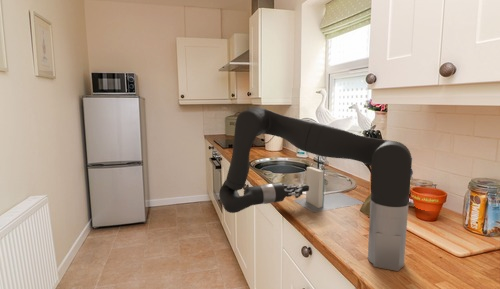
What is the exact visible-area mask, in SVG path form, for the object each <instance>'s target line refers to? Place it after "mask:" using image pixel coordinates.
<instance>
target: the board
mask: <svg viewBox="0 0 500 289" xmlns="http://www.w3.org/2000/svg"><path fill="white" fill-rule="evenodd" d="M292 201H293V202H294V203H297V204H299V206H302V207H303V208H305V209H307V210H308V211H310V212H312V213H320V212H324V211H331V210H334V209H335V210H336V209H341V208H346V207H351V206H352V207H353V206H358V205H362V204H363V203H364V202H365V201H364V202H363V201H361V200H360V199H356V198H355V197H351V196H350V195H346V194H344V193H343V192H335V193H329V194H324V207H320V208H318V207H316V206H314V205H312V204H310V203H309V202H307V201H306V197H303V198H296V199H293V200H292Z"/></svg>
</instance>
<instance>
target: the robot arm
mask: <svg viewBox="0 0 500 289" xmlns="http://www.w3.org/2000/svg"><path fill="white" fill-rule="evenodd" d="M233 135H234V136H233V137H234V138H233V144H232V145H233V147H232V153H231V160H230V165H229V167H228V170H227V175H226V178H225V180H224V181H223V184H222V185H221V187H220V188H219V192H218V194H219V200H220V202H221V204H222V206H223V209H224V211H225V212H228V213H231V214H236V213H239V212H241V211H243V210H245V209H247V208H249V207H252V206H257V205H265V204H266V205H267V204H273V203H281V202H284V200H285V198H286V197H287V198H291V197H292V196H294V197H295V198H296V199H299V198H300V197H301V196H303V193H304V192H305V193H306V191H309V186H308V185H306V184H305V185H297V184H293V183H292V184H290V183H281V182H273V183H271V182H270V183H265V184H261V185H254V186H248V187H246V188H245V189H244V187H245V186H246V182H247V179H248V175H249V172H250V165H251V164H250V154H251V149H252V146H253V144H254V142H255V140H256V138H257V137H258V136H261V135H271V136H274V137H279V138H281V139H283V140H285V141H287V142H288V143H289V144H291V145H292V146H294V147H295V148H297V149H299V150H301V151H303V152H306V153H309V154H312V155H317V156H319V157H320V156H321V157H325V158H333V159H345V160H346V159H347V160H353V161H357V162H361V163H363V164H366V165H370V166H371V167H370V169H371V170H370V193H371V205H370V215H369V217H370V218H369V222H368V223H369V226H368V247H367V248H368V249H367V250H368V251H367V259H368V261H369V262H370V263H371V264H372V265H373V267H374V268H379V269H385V270H390V271H395V272H399V271H400V269H402V268H404V266H405V259H406V255H405V254H406V242H407V231H408V230H407V228H408V227H407V226H408V213H409V204H410V203H409V194H410V180H411V169H412V166H413V165H412V162H413V158H412V159H411V157H412V154H411V151H410V149H409V148H408V146H406V145H405V144H404V143H402V142H400V141H396V140H388V139H380V138H374V137H369V136H363V135H360V134H356V133H354V132H350V131H347V130H345V129H341V128H338V127H334V126H331V125H328V124H323V123H320V122H315V121H310V120H306V119H301V118H297V117H291V116H287V115H284V114H280V113H277V112H275V111H272V110H270V109H266V108H264V107H260V106H254V107H251V108H248V109H244V110H243V111H241V112H239V114H238V115H237V117H236V120H235V124H234V134H233ZM242 189H244V190H243V195H240V193H239V192H238V191H240V190H242ZM408 203H409V204H408Z"/></svg>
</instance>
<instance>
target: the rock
mask: <svg viewBox="0 0 500 289" xmlns="http://www.w3.org/2000/svg"><path fill="white" fill-rule="evenodd" d="M370 205H371V192H370V193H369V195H368V196H367V197H366V199H365V200H364V203H363V204H361V207H360V208H359V212H362V213H364V214H365V215H367V218H368V219H370Z"/></svg>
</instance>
